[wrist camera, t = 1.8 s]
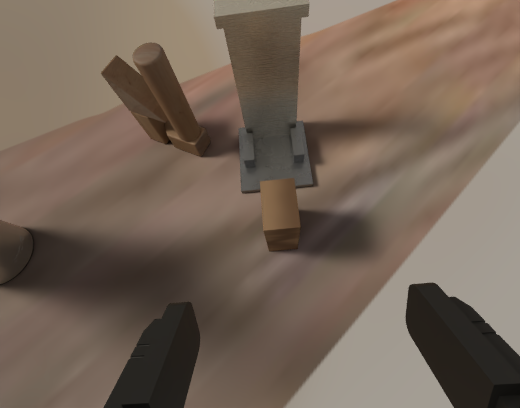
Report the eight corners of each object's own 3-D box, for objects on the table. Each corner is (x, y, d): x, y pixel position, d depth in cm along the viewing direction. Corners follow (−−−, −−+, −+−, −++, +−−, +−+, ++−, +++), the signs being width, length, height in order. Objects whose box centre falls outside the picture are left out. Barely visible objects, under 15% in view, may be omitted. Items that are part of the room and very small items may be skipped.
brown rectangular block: (269, 251, 38) (263, 230, 29) (266, 212, 40) (259, 181, 31) (297, 248, 38) (300, 227, 29) (292, 209, 40) (294, 177, 31)
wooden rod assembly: (161, 123, 49) (97, 26, 32) (211, 141, 46) (170, 44, 30) (150, 139, 48) (78, 46, 31) (201, 158, 45) (152, 67, 29)
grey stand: (242, 193, 42) (203, 86, 22) (239, 126, 47) (205, -8, 28) (312, 186, 41) (335, 70, 22) (301, 118, 46) (312, -24, 27)
